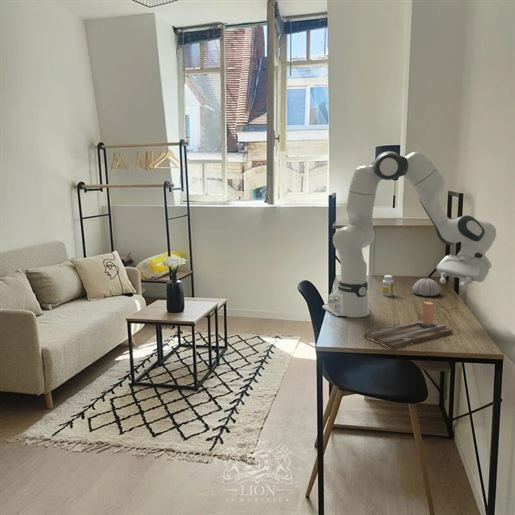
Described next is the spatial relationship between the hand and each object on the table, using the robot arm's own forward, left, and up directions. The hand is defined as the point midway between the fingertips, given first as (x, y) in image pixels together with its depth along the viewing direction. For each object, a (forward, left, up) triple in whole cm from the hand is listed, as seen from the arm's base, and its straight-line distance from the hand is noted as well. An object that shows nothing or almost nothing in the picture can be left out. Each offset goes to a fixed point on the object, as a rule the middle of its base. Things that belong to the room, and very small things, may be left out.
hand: (451, 284), depth 180 cm
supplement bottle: (-48, +14, -17) cm, 53 cm away
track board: (0, -22, -17) cm, 28 cm away
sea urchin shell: (-39, +31, -17) cm, 52 cm away
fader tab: (0, -12, -15) cm, 19 cm away
